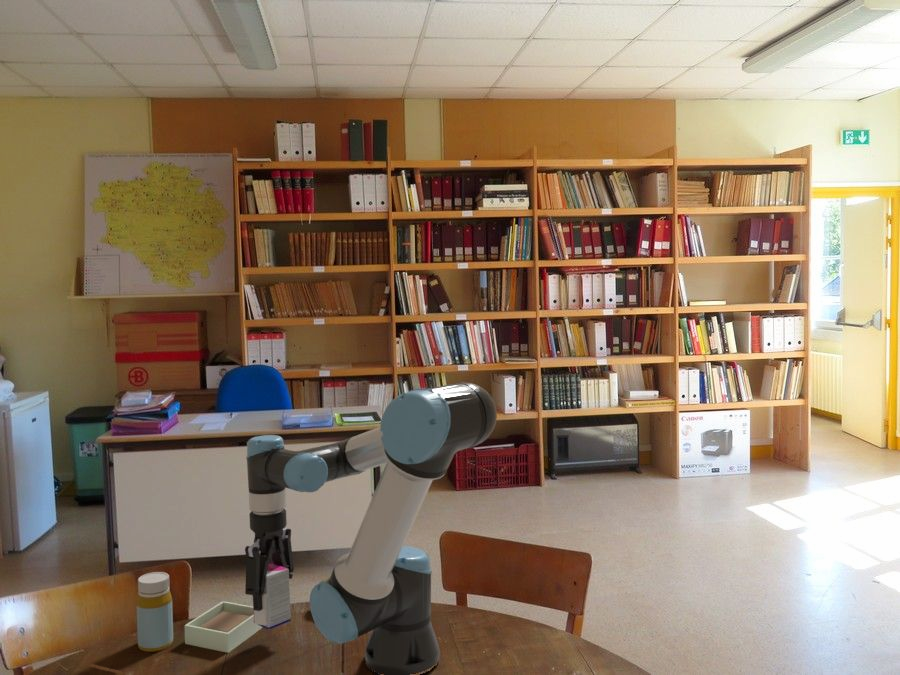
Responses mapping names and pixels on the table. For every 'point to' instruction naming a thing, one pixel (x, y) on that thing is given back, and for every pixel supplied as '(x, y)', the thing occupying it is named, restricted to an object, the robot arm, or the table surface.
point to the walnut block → (225, 621)
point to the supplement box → (277, 596)
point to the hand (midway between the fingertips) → (271, 616)
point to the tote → (218, 638)
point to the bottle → (154, 612)
